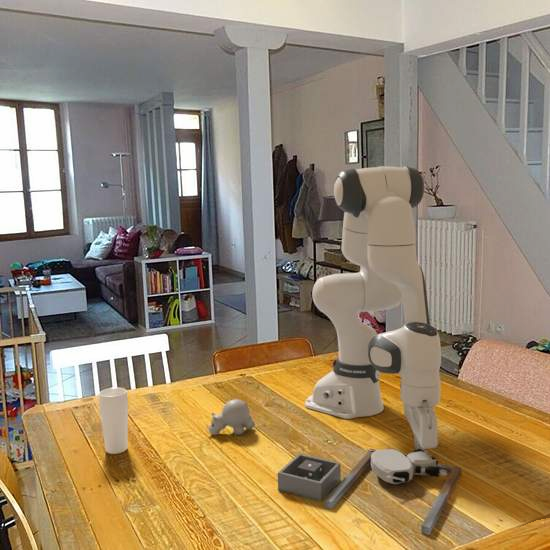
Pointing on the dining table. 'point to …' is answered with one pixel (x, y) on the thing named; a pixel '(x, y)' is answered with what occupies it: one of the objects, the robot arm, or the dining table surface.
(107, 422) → the drinking glass
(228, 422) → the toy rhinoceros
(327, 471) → the tray
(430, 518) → the track
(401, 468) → the robot toy
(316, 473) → the die
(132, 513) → the dining table surface
